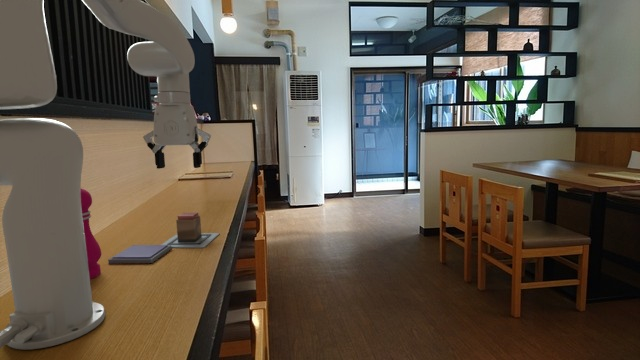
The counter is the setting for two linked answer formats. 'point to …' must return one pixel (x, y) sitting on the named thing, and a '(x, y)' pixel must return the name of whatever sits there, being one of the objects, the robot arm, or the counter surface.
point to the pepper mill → (90, 236)
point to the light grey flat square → (199, 243)
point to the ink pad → (140, 254)
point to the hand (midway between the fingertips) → (179, 167)
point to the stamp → (188, 227)
